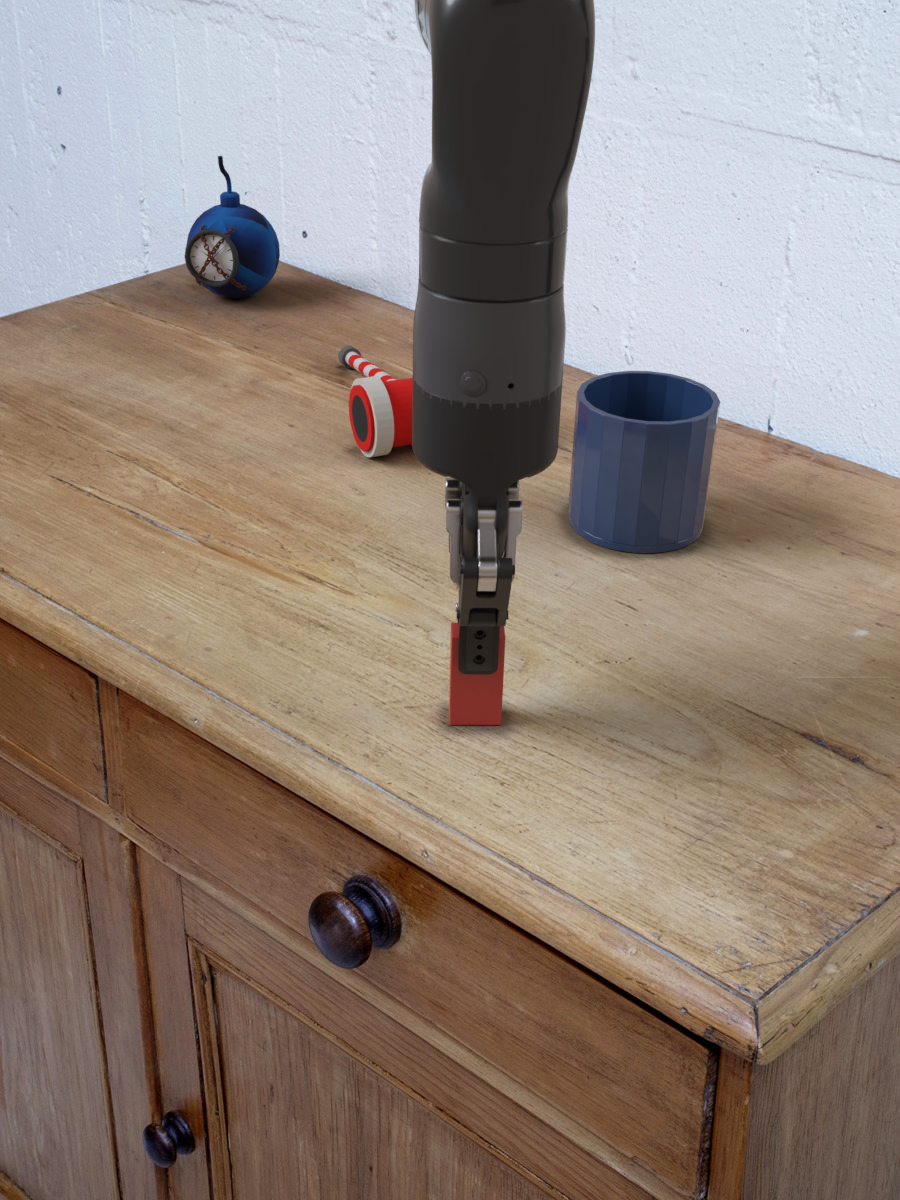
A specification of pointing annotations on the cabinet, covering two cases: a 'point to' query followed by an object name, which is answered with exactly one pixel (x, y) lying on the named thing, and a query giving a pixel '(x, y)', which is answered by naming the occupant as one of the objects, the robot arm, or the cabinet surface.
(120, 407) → the cabinet surface
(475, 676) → the tall red rectangular prism
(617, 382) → the cup
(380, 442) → the toy hammer
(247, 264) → the bomb
